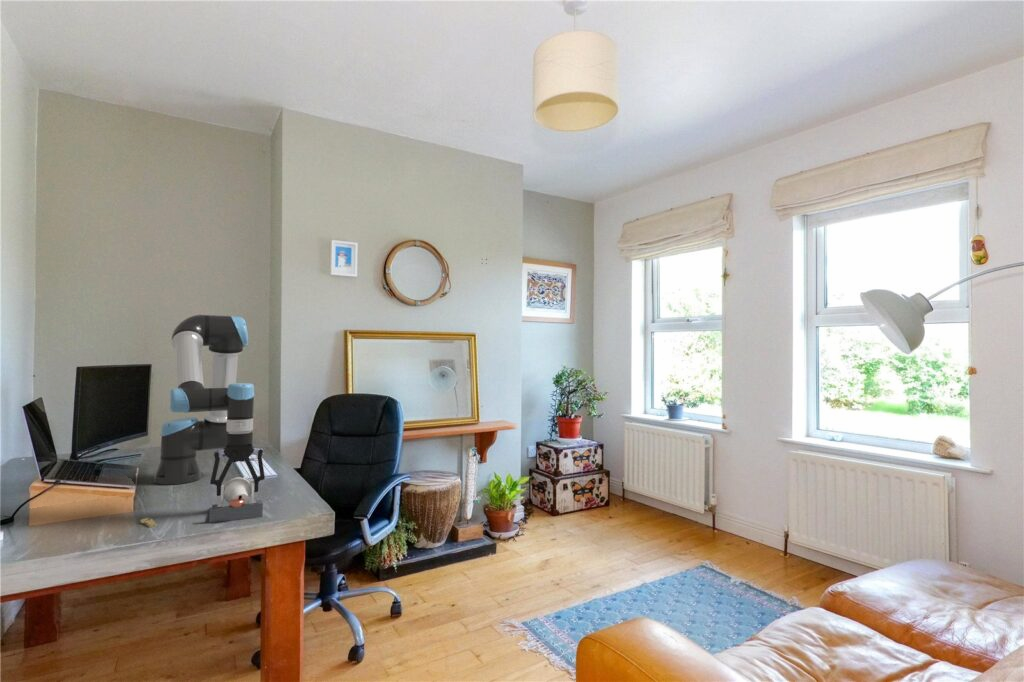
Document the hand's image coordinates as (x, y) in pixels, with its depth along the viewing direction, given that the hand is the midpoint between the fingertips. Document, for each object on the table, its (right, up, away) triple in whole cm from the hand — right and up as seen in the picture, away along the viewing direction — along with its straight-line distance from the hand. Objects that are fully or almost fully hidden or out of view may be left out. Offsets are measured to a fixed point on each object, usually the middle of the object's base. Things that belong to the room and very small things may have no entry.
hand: (237, 504), depth 163 cm
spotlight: (+1, 0, -1) cm, 2 cm away
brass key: (-17, -1, -15) cm, 23 cm away
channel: (+2, -2, -3) cm, 4 cm away
